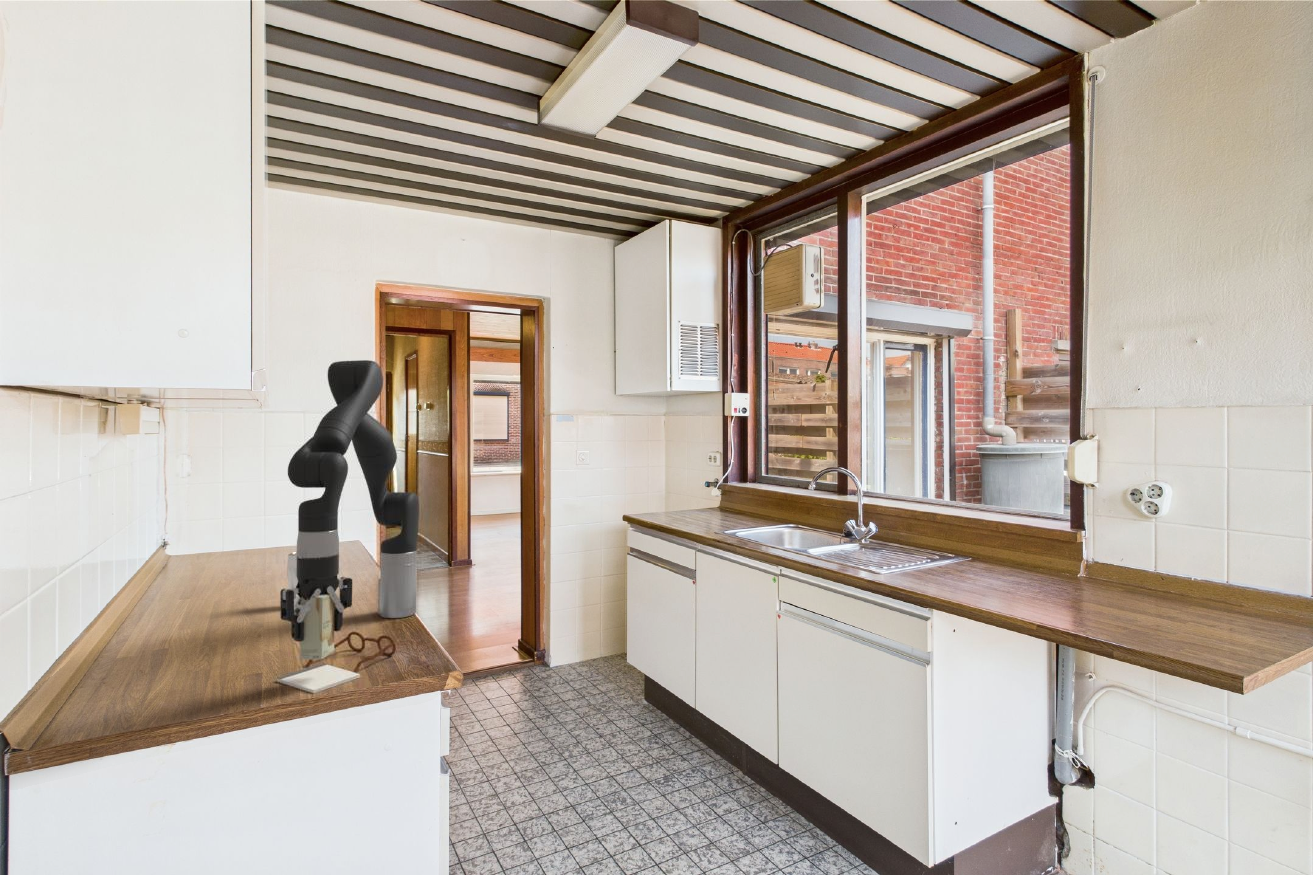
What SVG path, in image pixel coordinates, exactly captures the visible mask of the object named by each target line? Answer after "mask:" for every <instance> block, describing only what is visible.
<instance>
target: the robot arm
mask: <svg viewBox="0 0 1313 875" xmlns="http://www.w3.org/2000/svg"><path fill="white" fill-rule="evenodd" d="M327 382H328V386H329V389H330V393H331V394H332V397H333V400H334V401H335V403H336V406H334V407H333V408H331V409H330V410H329V411H328V412H327V413H326V414H325V415H324V416H323V417H322V418H321V420H320V421H319V423H318V425H317V427H316V430H315V432H314V434H313V436H312V437H310V439H308V440H306V442H305V443H304V444H303V445H302V446H301V447H300V448H298V450H297V451H296V452H294V454H293V456H291V459H290V461H289V463H288V465H287V477H288V479H289V482H290V483H291V484H292V485H294V486H295V487H298V488H307V489H309V488H310V489H311V488H313V489H316V488H317V489H319V488H323V489H324V492H323V494H322V495H321V496H320V497H317V498H313V499H308V500H305V501H302V502H300V504H299V506H298V511H297V512H298V518H297V520H298V522H297V523H298V529H297V530H298V532H297V538H296V539H297V540H296V552H297V579H298V583H297V586H296V588H292V589H290V588H282V589H280V598H279V599H280V619H281V620H283V621H286V622H290V624H291V625H290V629H291V631H290V632H291V638H292V639H293V640H294V641H295V642H298V643H300V641H303V640H304V622H302V621H303V619H304V617H305V615H306V613H307V612H309V611H310V609H311V607H312V598H313V597H318V596H319V595H323V594H328V595H329V596H330V598H331V600H332V603H333V605H334V606H335V607H334V608H335V610H334V632H339V631H341V630H342V627H343V624H344V623H343V614H344V613H343V612H344V611H345V610H346V609H347V608H351V607H352V605H353V578H350V577H346V576H342V577H340V578H339V577H338V575H339V573H340V571H339V570H340V549H339V548H340V537H339V532H338V531H339V530H338V528H339V527H338V526H339V525H338V523H339V516H338V515H339V506H340V499H341V497H342V492H343V489H344V486H345V483H346V480H347V476H348V472H349V466H348V460H347V459H346V457H345V456H344V455H345V454H346V453H347V451H348V450H349V447H350V445H351V442H352V447H353V449H354V452H355V456H356V458H357V461H358V463H359V466H360V468H361V470H362V474H363V476H364V479H365V482H366V485H367V489H368V492H369V498H370V501H371V502H370V503H371V506H372V511H373V514H374V517H375V520H376V522H377V523H378V524H379V525H381V526H384V527H385V526H386V527H401V529H400V532H399V534H397V535H395V536H393V537H390V538H386V539H385V540H382V541H381V543H380V578H379V579H378V585H377V586H378V587H377V588H378V590H377V591H378V592H377V593H378V595H377V596H378V597H377V613H378V615H380V617H382V618H386V619H399V618H400V619H401V618H406V617H411V616H413V615H415V614H416V613H417V595H418V594H417V584H418V583H417V580H418V578H417V577H418V576H417V571H418V570H417V569H418V568H417V567H418V566H417V565H418V563H417V562H418V560H417V558H418V557H417V554H418V553H417V549H418V547H417V546H418V538H419V537H418V536H419V517H420V502H419V497H418V495H417V494H416V493H415V492H409V491H407V492H401V491H400V492H399V491H397V492H395V491H394V492H392V491H389V490H388V488H387V480H388V479H389V477H390V475H391V473H392V472H393V470H394V468H395V466H396V463H397V460H398V459H397V458H398V456H397V450H396V446H395V443H394V439H393V436H392V435H391V432H390V431H389V430H388V429H387V428H386V426H384V425H383V424H382V423H380V422H379V421H378V420H377V419H376V418H374V417H373V416H372V415H370V414H369V413H368V412H369V411H370V410H371V408H372V407H373V405H374V404H375V402H376V401H377V400H378V398H379V397H380V395H381V392H382V390H383V386H384V376H383V371H382V369H381V367H380V365H379V364H378V363H377V362H376V361H373V360H367V359H365V360H364V359H362V360H360V359H359V360H342V361H341V360H340V361H335V362H332V363H331V364H330V365H329V366H328V369H327ZM337 589H339V596H338V594H337V593H336V590H337ZM296 594H298V596H299V598H298V600H297V602H296V604H295V606H294V599H296ZM301 597H303V599H304V600H307V599H308V600H307V602H306V604H305V605H301ZM294 608H295V609H294ZM300 609H301V610H300ZM411 610H412V611H413V612H412V611H411ZM413 613H414V614H413Z"/></svg>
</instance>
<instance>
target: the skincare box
mask: <svg viewBox="0 0 1313 875" xmlns="http://www.w3.org/2000/svg"><path fill="white" fill-rule="evenodd" d="M307 600H308V599H307ZM307 600H304V599H303V597H301V605H305V604H306V602H307ZM334 607H335V606H334V605H333V603H332V600H331V598H330V596H329V595H328V594H323V595H319V596H318V597H313V598H312V607H311V609H310V611H309V612H307V613H306V615H305V617H304V619H303V621H302V622H304V640H303V641H300V642H299V660H300V661H301V660H303V661H305V660H306V661H307V660H308V661H309V660H313V661H314V660H319V661H320V660H323V659H324V658H326V657H327V656H328V655H330V654H332V653H333V652H334V651H335V648H334V645H335V631H334V610H335V608H334ZM300 610H301V609H300Z"/></svg>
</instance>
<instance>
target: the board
mask: <svg viewBox="0 0 1313 875" xmlns="http://www.w3.org/2000/svg"><path fill="white" fill-rule="evenodd" d="M359 678H361V674H360V673H359V672H357V673H354V672H353V671H350V670H347V669H343V668H340V667H336V666H334V665H330V664H327V663H325V662H322V663H320V664H316V665H312V666H309V667H307V668H303V669H300V670H296V671H294V672H290V673H287V674H284V675H281V676H279V677H278V676H277V677H276V682H277V683H281V684H285V685H288V686H290V687H292V688H295V689H299V690H301V691H302V690H303V691H305V692H308V693H312V694H316V693H319V692H321V691H324V690H327V689H331V688H333V687H336V686H339V685H342V684H344V683H347V682H348V683H349V682H350V681H353V680H356V679H359Z"/></svg>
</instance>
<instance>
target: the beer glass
mask: <svg viewBox="0 0 1313 875" xmlns="http://www.w3.org/2000/svg"><path fill="white" fill-rule="evenodd" d="M286 566H287V567H286V572H287V573H286V574H287V582H288V587H289V589H292V588H296V586H297V583H298V579H297V551H296V552H290V553H289V554H287V565H286ZM298 598H299V596H298V594H296V599H294V606H295V604H296V602H297V600H298ZM294 609H295V608H294Z"/></svg>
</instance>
